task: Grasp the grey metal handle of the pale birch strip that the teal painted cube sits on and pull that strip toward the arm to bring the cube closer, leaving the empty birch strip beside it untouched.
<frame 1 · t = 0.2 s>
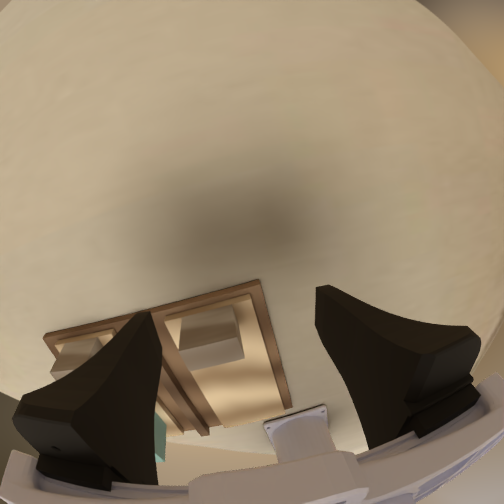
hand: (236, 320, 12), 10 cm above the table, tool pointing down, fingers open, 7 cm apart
empty strip: (236, 391, 23), point 3 cm above the table, slide at 0.0 cm
loaded strip: (120, 410, 22), point 3 cm above the table, slide at 0.0 cm, touching teal cube
lane board: (171, 379, 25), on the table
teal cube: (136, 415, 25), point 2 cm above the table, touching loaded strip
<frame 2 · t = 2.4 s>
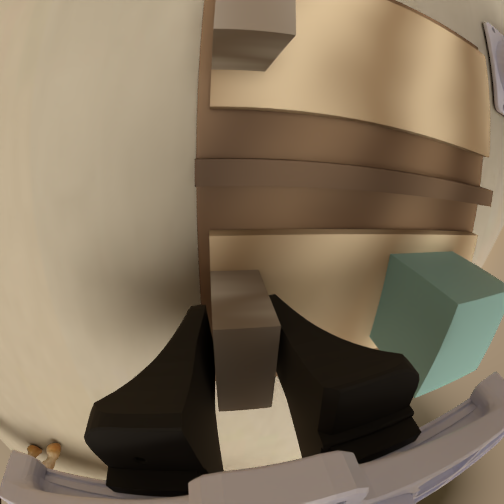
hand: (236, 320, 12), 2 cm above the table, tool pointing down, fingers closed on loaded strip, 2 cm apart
empty strip: (416, 51, 8), point 3 cm above the table, slide at 0.0 cm
loaded strip: (387, 316, 12), point 3 cm above the table, slide at 0.0 cm, touching gripper, teal cube
lane board: (372, 186, 13), on the table
teal cube: (414, 293, 14), point 2 cm above the table, touching loaded strip
horse figurine: (91, 446, 18), on the table
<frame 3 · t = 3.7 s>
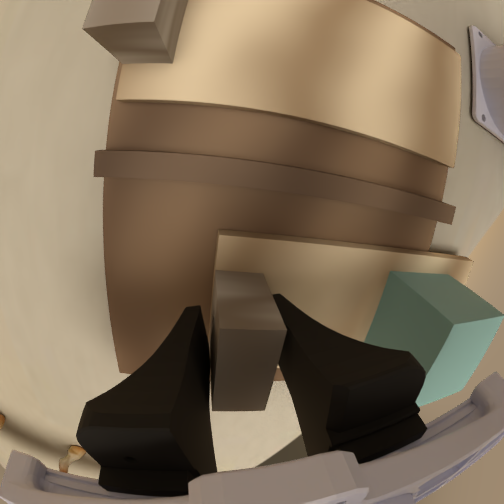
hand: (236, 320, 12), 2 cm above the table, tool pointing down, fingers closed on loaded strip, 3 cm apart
empty strip: (349, 35, 7), point 3 cm above the table, slide at 0.0 cm
loaded strip: (382, 330, 12), point 3 cm above the table, slide at 4.6 cm, touching gripper, teal cube
lane board: (298, 188, 13), on the table
teal cube: (407, 312, 14), point 2 cm above the table, touching loaded strip
horse figurine: (30, 422, 17), on the table
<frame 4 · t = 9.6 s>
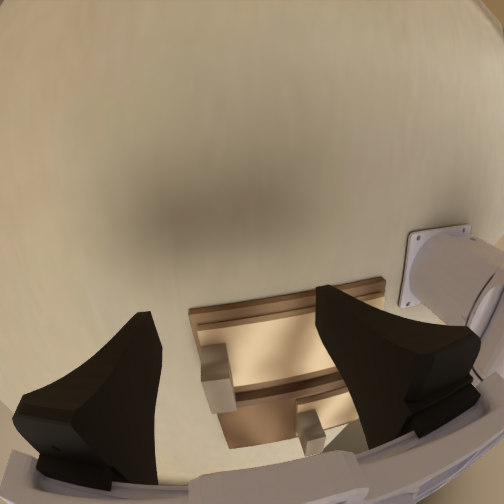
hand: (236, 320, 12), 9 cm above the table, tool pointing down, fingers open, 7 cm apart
empty strip: (304, 360, 21), point 3 cm above the table, slide at 0.0 cm
loaded strip: (365, 413, 27), point 3 cm above the table, slide at 8.0 cm, touching teal cube
lane board: (293, 382, 27), on the table
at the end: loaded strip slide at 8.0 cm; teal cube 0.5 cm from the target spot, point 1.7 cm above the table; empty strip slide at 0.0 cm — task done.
